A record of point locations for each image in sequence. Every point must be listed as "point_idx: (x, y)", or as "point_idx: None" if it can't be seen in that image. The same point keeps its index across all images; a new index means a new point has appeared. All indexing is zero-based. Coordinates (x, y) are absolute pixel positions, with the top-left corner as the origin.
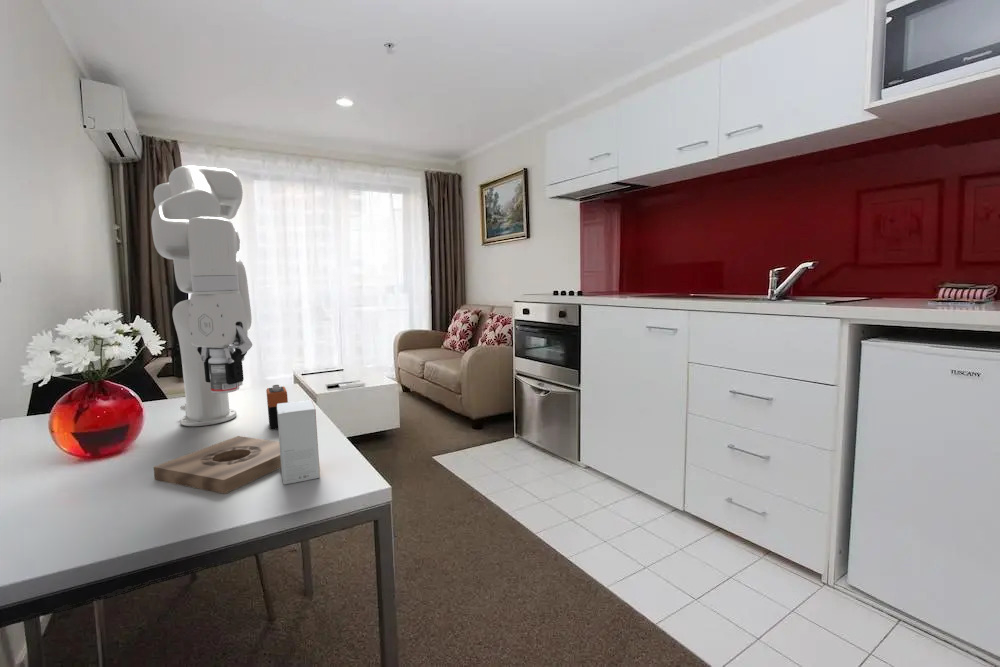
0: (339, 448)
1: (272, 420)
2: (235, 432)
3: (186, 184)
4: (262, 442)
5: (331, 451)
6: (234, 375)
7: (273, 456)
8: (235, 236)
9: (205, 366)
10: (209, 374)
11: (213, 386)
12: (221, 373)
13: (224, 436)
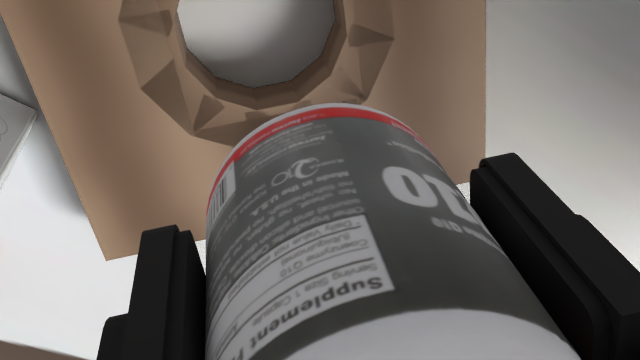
0: (81, 338)
1: None
2: (628, 228)
3: None
4: None
5: (76, 310)
6: (107, 340)
7: (65, 123)
8: None
9: (590, 265)
10: (504, 223)
11: (323, 131)
12: (236, 276)
13: (634, 185)
